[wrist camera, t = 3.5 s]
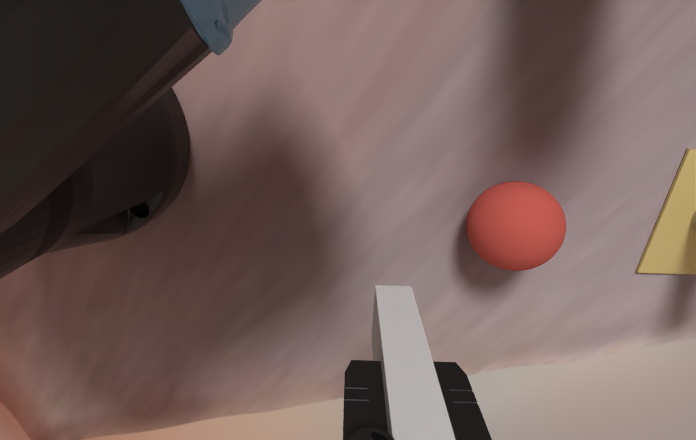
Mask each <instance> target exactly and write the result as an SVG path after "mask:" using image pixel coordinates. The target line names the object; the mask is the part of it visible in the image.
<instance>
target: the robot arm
mask: <svg viewBox="0 0 696 440" xmlns="http://www.w3.org/2000/svg"><path fill="white" fill-rule="evenodd" d="M260 1H261V0H0V279H1V278H2V277H4V276H6V275H7V274H9V273H11V272H13V271H14V270H16V269H18V268H19V267H21V266H22V265H24V264H26V263H28V262H29V261H31V260H33V259H35V258H36V257H38V256H40V255H42V254H44V253H48V252H52V251H57V250H62V249H67V248H72V247H77V246H82V245H86V244H91V243H96V242H101V241H106V240H110V239H115V238H118V237H121V236H124V235H126V234H129V233H131V232H133V231H135V230H137V229H139V228H140V227H142V226H144V225H145V224H147V223H148V222H149V221H151V220H152V219H154V218H155V217H156V216H158V215H159V214H160V213H162V212H163V211H164V210H165V209H166V208H167V207H168V206H169V205H170V204H171V203H172V201H173V200H174V199H175V197H176V196H177V194H178V193H179V191H180V189H181V187H182V184H183V182H184V179H185V176H186V172H187V167H188V160H189V140H188V132H187V127H186V123H185V119H184V115H183V112H182V109H181V107H180V104H179V102H178V99H177V97H176V95H175V93H174V91H173V89H172V88H171V87H172V86H173V85H174V84H176V83H177V82H178V81H179V80H180V79H181V78H182V77H184V76H185V75H186V74H187V73H188V72H189V71H191V70H192V69H193V68H194V67H195V66H196V65H197V64H199V63H200V62H201V61H202V60H203V59H204V58H205V57H207V56H208V55H209V54H210V53H211V52H212V51H213V52H214V53H215V54H217V55H220V54H221V53H223V52H224V51H225V50H226V49H227V48H228V47H229V45H230V43H231V42H232V37H233V29H234V28H235V27H236V26H237V25H238V24H239V23H240V21H241V20H242V19H243V18H244V17H245V16H246V15H247V14H248V13H249V12H250V11H251V10H252V9H253V8H254V7H255V6H256V5H257V4H258V3H259V2H260ZM372 349H373V361H363V360H351V362H350V364H349V366H348V368H347V369H346V371H345V387H344V421H343V422H344V423H343V440H492V439H491V437H490V434H489V432H488V429H487V426H486V424H485V421H484V419H483V417H482V413H481V411H480V408H479V406H478V404H477V401H476V398H475V395H474V393H473V392H472V388H471V385H470V383H469V380H468V377H467V375H466V374H465V373H464V371H463V370H462V369H461V368H460V367H459V366H458V365H457V363H456V362H433V360H432V356H431V353H430V349H429V346H428V342H427V339H426V336H425V332H424V329H423V325H422V322H421V318H420V315H419V311H418V308H417V304H416V301H415V297H414V294H413V290H412V287H409V286H377V285H375V297H374V311H373V325H372Z"/></svg>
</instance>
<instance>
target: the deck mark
mask: <svg viewBox="0 0 696 440" xmlns="http://www.w3.org/2000/svg"><path fill="white" fill-rule="evenodd" d="M695 212H696V149H687V150H686V153H685V155H684V158H683V160H682V162H681V165H680V167H679V170H678V172H677V174H676V177H675V179H674V182H673V184H672V186H671V189H670V191H669V194H668V196H667V198H666V201H665V203H664V205H663V208H662V210H661V213H660V215H659V217H658V220H657V222H656V225H655V227H654V229H653V232H652V234H651V237H650V239H649V241H648V244H647V246H646V249H645V251H644V253H643V256H642V258H641V260H640V263H639V265H638V268H637V270H636V272H638V273H665V274H696V230H694V229H693V228H692V226H691V218H692V216H693V214H694V213H695Z"/></svg>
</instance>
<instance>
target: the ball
mask: <svg viewBox="0 0 696 440" xmlns="http://www.w3.org/2000/svg"><path fill="white" fill-rule="evenodd" d="M565 233H566V220H565V215H564V213H563V210H562V208H561V206H560V204H559V203H558V201H557V200H556V199H555V198H554V197H553V196H552V195H551V194H550V193H549V192H547V191H546V190H545V189H543V188H541V187H539V186H537V185H534V184H531V183H527V182H519V181H514V182H505V183H501V184H498V185H495V186H493V187H491V188H489V189H487V190H486V191H485V192H483V193H482V194H481V195H480V196H479V197H478V198H477V199H476V200H475V202H474V203H473V205H472V206H471V208H470V211H469V213H468V217H467V234H468V238H469V241H470V243H471V245H472V247H473V249H474V250H475V251H476V253H477V254H478V255H479V256H480V257H481V258H482V259H484V260H485V261H487V262H488V263H489V264H491V265H493V266H496V267H498V268H501V269H506V270H513V271H521V270H528V269H532V268H535V267H538V266H540V265H542V264H543V263H545V262H547V261H548V260H549V259H551V258H552V257H553V256H554V255H555V254H556V252H557V251H558V250H559V248H560V247H561V245H562V243H563V240H564V237H565Z"/></svg>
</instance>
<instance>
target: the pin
mask: <svg viewBox="0 0 696 440" xmlns="http://www.w3.org/2000/svg"><path fill="white" fill-rule="evenodd" d="M691 226H692V228H693V229H694V230H696V212H695V213H694V214H693V216H692V218H691Z"/></svg>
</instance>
